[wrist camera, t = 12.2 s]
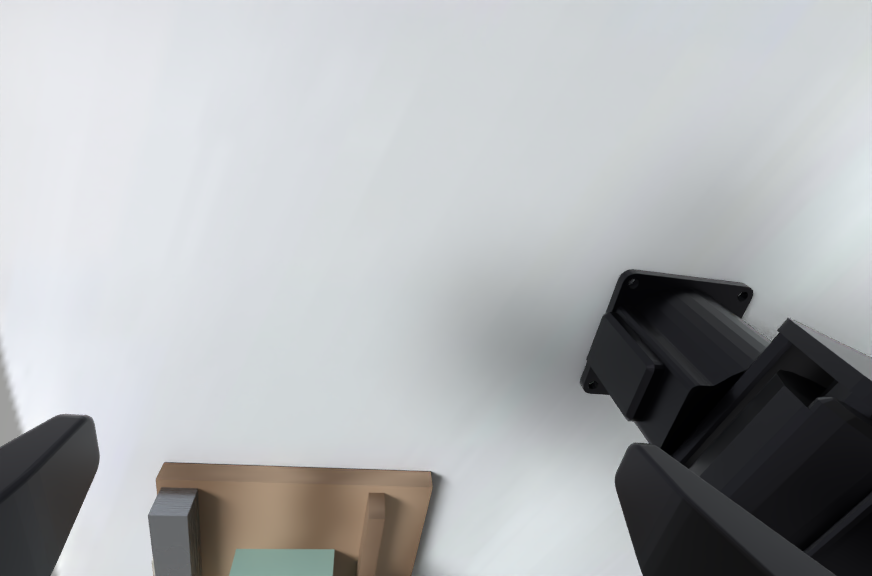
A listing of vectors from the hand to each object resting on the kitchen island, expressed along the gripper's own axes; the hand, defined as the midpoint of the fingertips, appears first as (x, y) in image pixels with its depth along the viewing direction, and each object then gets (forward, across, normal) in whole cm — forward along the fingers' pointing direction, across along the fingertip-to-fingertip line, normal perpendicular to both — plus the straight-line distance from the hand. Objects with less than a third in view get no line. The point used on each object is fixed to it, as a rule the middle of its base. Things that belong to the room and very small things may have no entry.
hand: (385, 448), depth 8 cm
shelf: (+12, +2, +24) cm, 26 cm away
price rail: (+11, +8, +24) cm, 27 cm away
